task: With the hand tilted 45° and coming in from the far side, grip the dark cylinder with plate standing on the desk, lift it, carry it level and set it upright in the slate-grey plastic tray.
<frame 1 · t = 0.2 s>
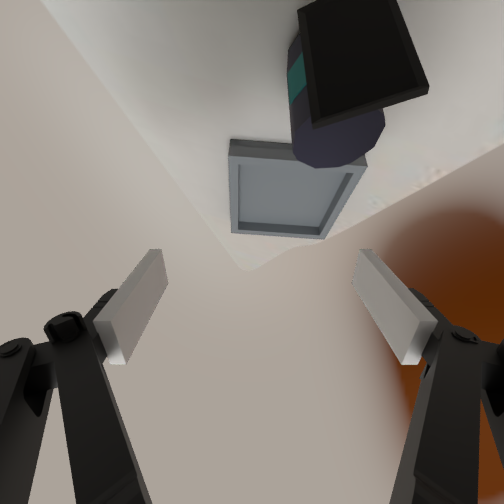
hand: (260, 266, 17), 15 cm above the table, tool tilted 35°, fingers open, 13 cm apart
tray: (285, 191, 32), on the table
dark cylinder with plate: (332, 53, 19), on the table
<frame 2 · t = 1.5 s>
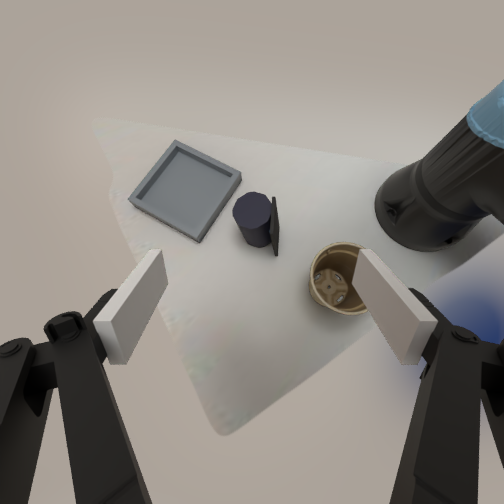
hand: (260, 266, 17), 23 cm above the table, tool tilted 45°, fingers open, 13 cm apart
flower pot: (327, 287, 40), on the table
tray: (188, 193, 45), on the table
dark cylinder with plate: (258, 236, 42), on the table
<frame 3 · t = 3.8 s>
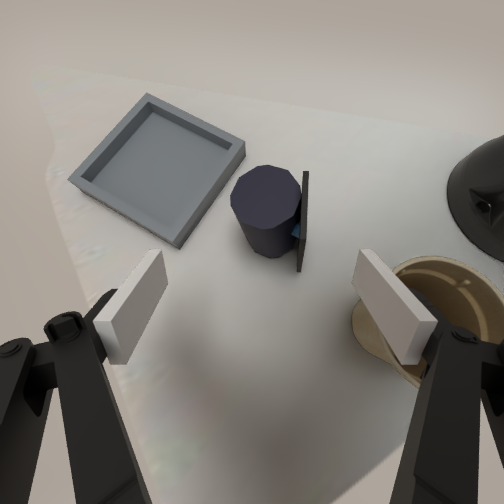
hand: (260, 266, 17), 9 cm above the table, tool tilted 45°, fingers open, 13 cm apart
flower pot: (380, 323, 25), on the table
tray: (165, 173, 30), on the table
dark cylinder with plate: (270, 240, 27), on the table
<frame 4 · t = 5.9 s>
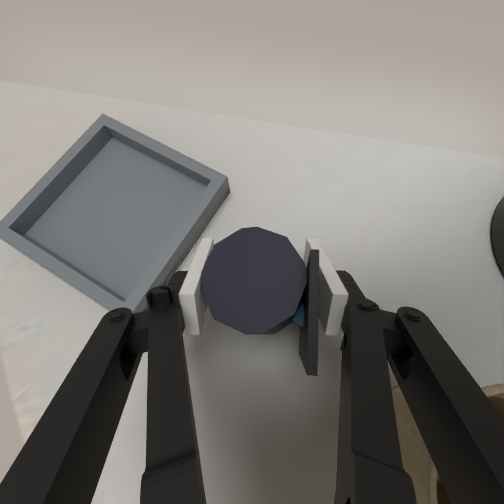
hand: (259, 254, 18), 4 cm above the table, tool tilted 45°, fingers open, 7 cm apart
flower pot: (413, 429, 18), on the table
tray: (127, 216, 23), on the table
dark cylinder with plate: (263, 307, 21), on the table, touching gripper
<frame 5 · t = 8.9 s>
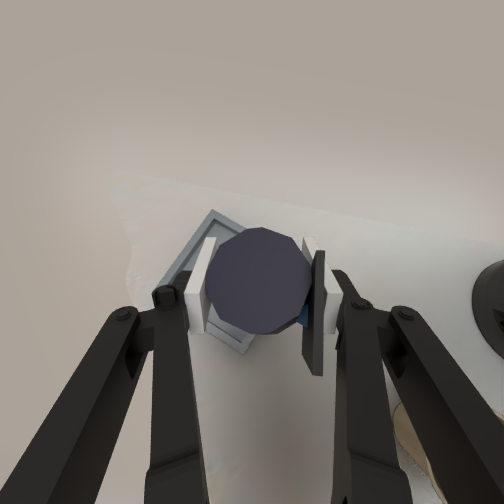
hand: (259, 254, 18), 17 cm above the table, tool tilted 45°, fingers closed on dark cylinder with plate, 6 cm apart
flower pot: (417, 424, 30), on the table
tray: (228, 279, 35), on the table
dark cylinder with plate: (266, 307, 21), point 13 cm above the table, touching gripper
when the fingers open (6 cm above the table, at t = 11.7 s): dark cylinder with plate drops 1 cm, resting on tray.
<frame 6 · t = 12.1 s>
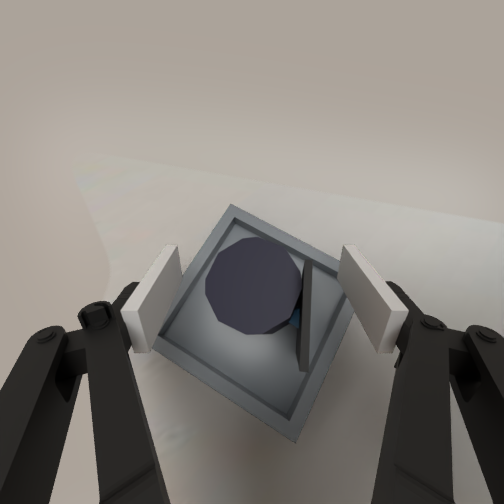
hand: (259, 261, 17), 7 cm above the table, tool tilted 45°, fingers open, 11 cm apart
tray: (258, 309, 23), on the table
dark cylinder with plate: (262, 309, 22), point 1 cm above the table, touching tray
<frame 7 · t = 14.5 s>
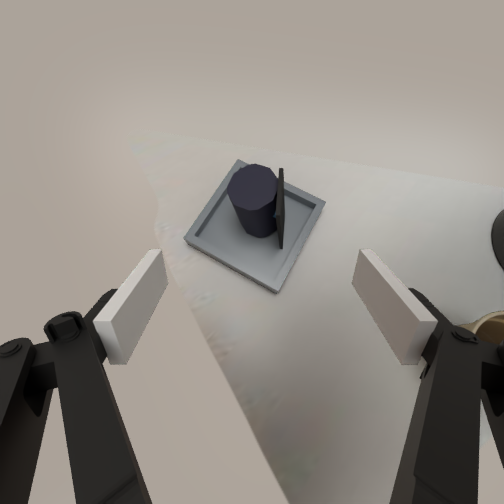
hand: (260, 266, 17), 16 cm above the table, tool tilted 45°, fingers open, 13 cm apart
flower pot: (447, 353, 31), on the table
tray: (256, 226, 35), on the table
dark cylinder with plate: (259, 224, 34), point 1 cm above the table, touching tray
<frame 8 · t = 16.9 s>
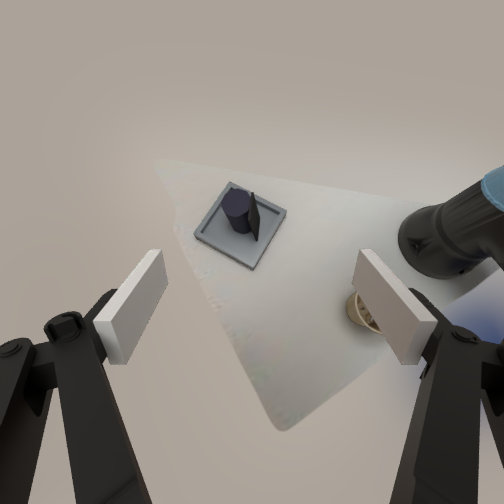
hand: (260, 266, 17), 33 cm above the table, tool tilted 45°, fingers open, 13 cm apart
flower pot: (361, 308, 48), on the table
tray: (241, 226, 53), on the table
dark cylinder with plate: (243, 225, 52), point 1 cm above the table, touching tray
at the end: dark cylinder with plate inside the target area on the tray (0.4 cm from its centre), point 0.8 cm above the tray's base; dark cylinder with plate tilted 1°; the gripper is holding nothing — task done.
